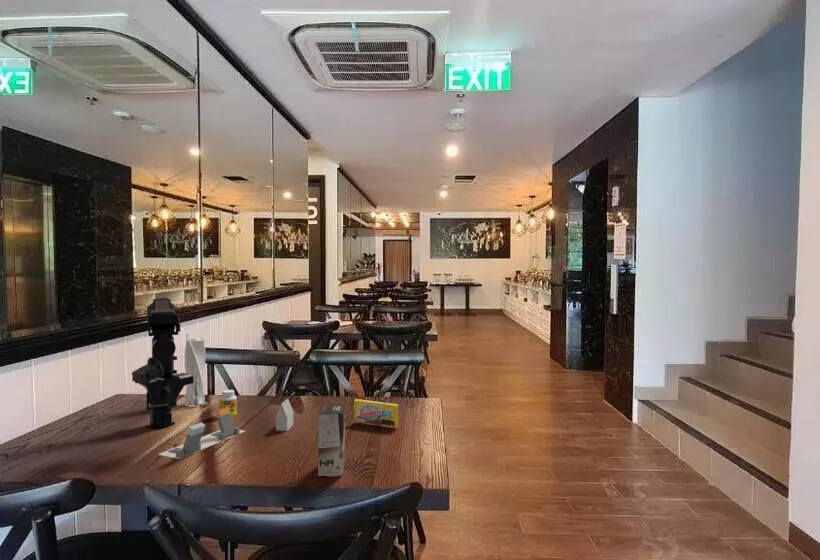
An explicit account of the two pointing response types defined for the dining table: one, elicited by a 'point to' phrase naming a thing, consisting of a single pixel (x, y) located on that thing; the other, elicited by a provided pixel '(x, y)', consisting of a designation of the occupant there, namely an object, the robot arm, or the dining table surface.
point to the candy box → (376, 412)
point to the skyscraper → (195, 370)
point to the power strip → (201, 443)
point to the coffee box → (331, 440)
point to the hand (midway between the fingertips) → (162, 406)
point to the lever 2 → (225, 421)
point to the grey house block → (284, 417)
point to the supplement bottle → (229, 401)
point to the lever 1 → (193, 438)
